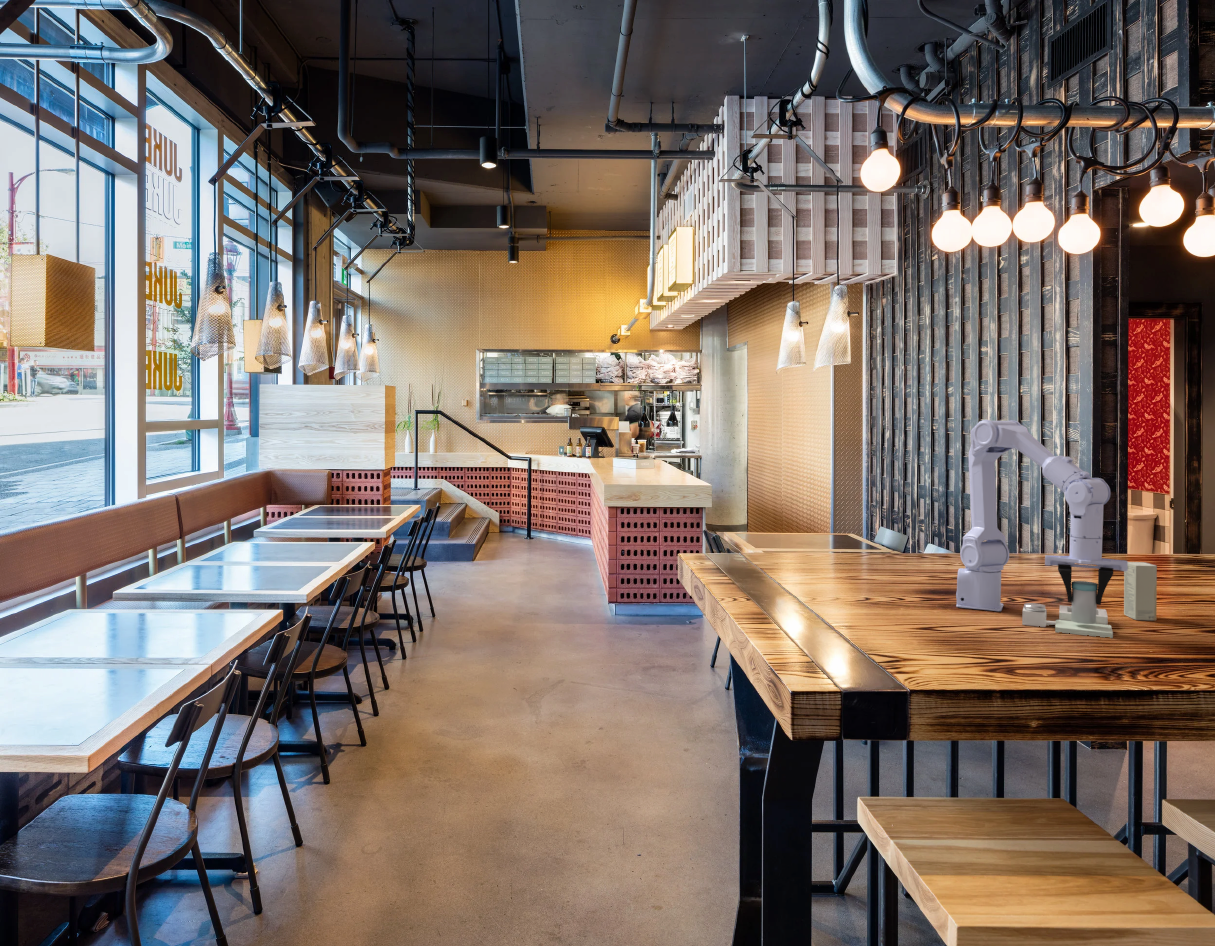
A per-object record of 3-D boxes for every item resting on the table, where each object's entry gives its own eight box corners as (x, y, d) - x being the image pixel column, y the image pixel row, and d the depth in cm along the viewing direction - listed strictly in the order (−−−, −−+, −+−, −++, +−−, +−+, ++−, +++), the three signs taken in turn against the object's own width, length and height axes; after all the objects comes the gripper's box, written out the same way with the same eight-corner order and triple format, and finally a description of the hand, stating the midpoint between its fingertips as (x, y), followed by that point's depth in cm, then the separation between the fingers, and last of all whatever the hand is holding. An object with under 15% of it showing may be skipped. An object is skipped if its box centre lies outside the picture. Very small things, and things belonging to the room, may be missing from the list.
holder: (1022, 624, 170) (1022, 610, 170) (1025, 612, 182) (1025, 599, 182) (1108, 633, 162) (1108, 619, 162) (1105, 620, 174) (1106, 607, 174)
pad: (1055, 632, 164) (1055, 627, 164) (1055, 624, 171) (1055, 619, 171) (1112, 638, 159) (1112, 633, 159) (1110, 630, 166) (1111, 625, 166)
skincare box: (1156, 621, 174) (1158, 566, 173) (1134, 620, 175) (1136, 565, 174) (1143, 615, 180) (1145, 561, 180) (1121, 614, 181) (1123, 561, 180)
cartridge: (1070, 622, 164) (1071, 583, 164) (1070, 617, 168) (1071, 580, 168) (1096, 625, 162) (1098, 586, 161) (1096, 620, 166) (1097, 582, 165)
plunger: (1023, 622, 170) (1023, 605, 170) (1024, 618, 174) (1024, 602, 174) (1044, 624, 168) (1045, 607, 168) (1045, 620, 172) (1045, 604, 172)
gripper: (1045, 536, 164) (1043, 602, 165) (1129, 541, 157) (1127, 610, 157) (1046, 533, 170) (1044, 596, 171) (1127, 537, 163) (1124, 603, 164)
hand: (1084, 602), depth 165 cm, fingers closed on cartridge, 4 cm apart
